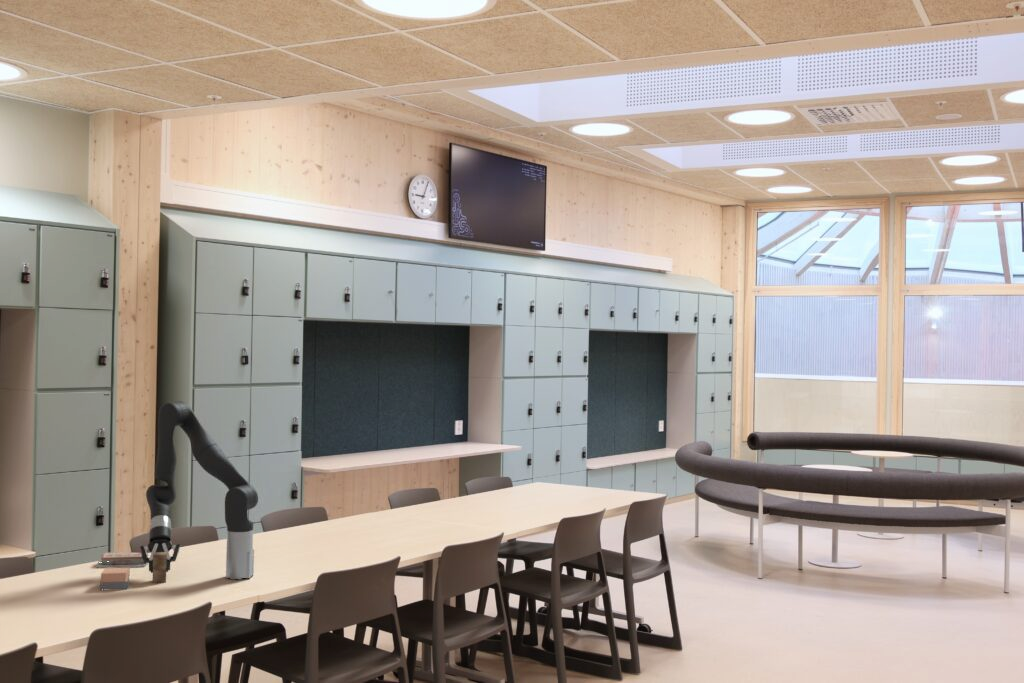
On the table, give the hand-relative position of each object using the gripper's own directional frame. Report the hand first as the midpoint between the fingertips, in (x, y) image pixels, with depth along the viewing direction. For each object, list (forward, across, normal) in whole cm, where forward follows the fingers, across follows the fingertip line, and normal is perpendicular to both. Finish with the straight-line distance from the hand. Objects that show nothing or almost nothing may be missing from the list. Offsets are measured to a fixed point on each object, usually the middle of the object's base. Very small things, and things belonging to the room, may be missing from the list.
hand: (159, 570), depth 345 cm
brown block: (+2, 0, +4) cm, 5 cm away
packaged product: (-20, -13, +27) cm, 36 cm away
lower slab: (+5, -15, +2) cm, 15 cm away
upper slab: (+3, -14, 0) cm, 15 cm away
